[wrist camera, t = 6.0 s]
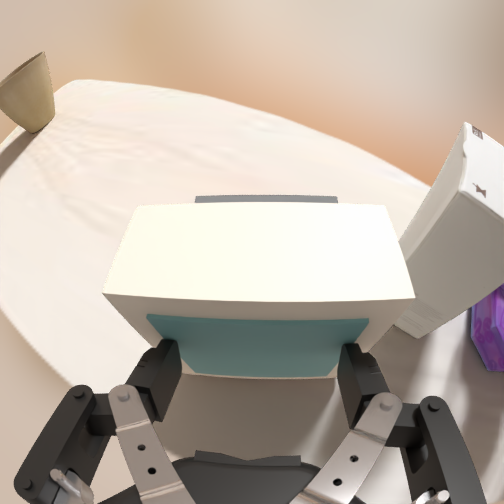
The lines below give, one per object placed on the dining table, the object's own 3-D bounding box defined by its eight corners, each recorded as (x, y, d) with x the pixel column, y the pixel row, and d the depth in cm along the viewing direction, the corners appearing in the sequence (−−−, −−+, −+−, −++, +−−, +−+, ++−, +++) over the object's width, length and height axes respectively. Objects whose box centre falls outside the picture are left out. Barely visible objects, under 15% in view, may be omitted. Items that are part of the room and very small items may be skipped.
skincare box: (416, 341, 20) (546, 265, 7) (361, 307, 22) (459, 191, 8) (443, 266, 23) (533, 166, 9) (395, 236, 24) (465, 113, 11)
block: (337, 317, 21) (384, 205, 12) (342, 379, 18) (416, 302, 9) (190, 315, 22) (137, 205, 13) (181, 375, 19) (100, 297, 10)
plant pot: (79, 102, 44) (53, 46, 30) (29, 149, 38) (-6, 93, 24) (54, 101, 48) (32, 55, 34) (12, 141, 42) (-16, 96, 28)
